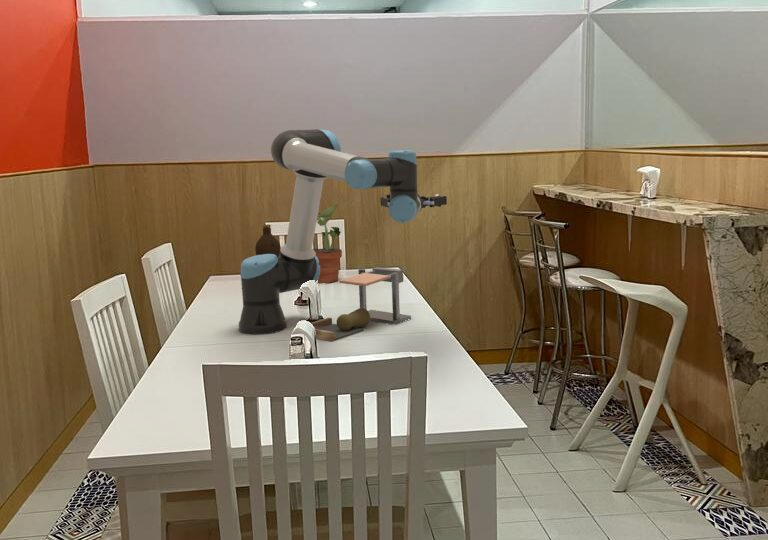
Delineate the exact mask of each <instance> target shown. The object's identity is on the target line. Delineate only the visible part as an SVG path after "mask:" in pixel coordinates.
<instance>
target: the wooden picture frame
mask: <svg viewBox="0 0 768 540" xmlns="http://www.w3.org/2000/svg"><path fill="white" fill-rule="evenodd" d="M311 323H312V324H313V325H314V327H315V331H316V338H318V339H317V340H322V341H327V342H336V341H337V340H336V337H335V332H331V331H325V330H320V329H318V328H321V327H324V326H327V325H331V324H333V318H332V317H330V316H329V317H326V318H322V319H319V320H316V321H313V322H311ZM316 338H315V339H316Z"/></svg>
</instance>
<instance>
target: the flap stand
mask: <svg viewBox="0 0 768 540" xmlns="http://www.w3.org/2000/svg"><path fill="white" fill-rule="evenodd" d="M357 272H358V275H359V274H362V273H366V268H360V269H358V271H357ZM358 291H359V292H358V293H359V308H365V309H366V310H367V311H368V312H369V314H370V322H374V323H380V322H381V323H382V324H386V323H388V324H387V325H392V324H396V325H398V324H397V323H399V324H401V323H404V322H406V321H405V320H407V321H409V320H408V319H410V320H412V315H409V314H401V313H400V283H399V274H398V273H397V272H393V273H392V282H391V297H392V298H391V300H392V302H391V304H392V312H390V311H383V310H381V311H380V310H376V309H369V310H368V309H367V286H360V285H358ZM403 321H404V322H403ZM400 322H401V323H400Z"/></svg>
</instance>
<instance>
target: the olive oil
mask: <svg viewBox="0 0 768 540" xmlns="http://www.w3.org/2000/svg"><path fill="white" fill-rule="evenodd" d="M281 247H282V246H281V243H280V241H279V240H278V239H277V238H276V237H275V235H273V234H272V228H271V224H262V235H261V236H260V237H259V239H258V240H257V242H256V243H255V249H254V250H255V256H256V255H263V254H274V255H276V256H277V257H279V255H280V249H281Z"/></svg>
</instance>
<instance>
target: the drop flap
mask: <svg viewBox="0 0 768 540" xmlns="http://www.w3.org/2000/svg"><path fill="white" fill-rule="evenodd" d="M393 272H397V273H398V274H399V284H401V283H403V282H404V269H401V268H400V269H399V268H390V267H388V268H387V267H377V266H376V267H373V268H372V270H371V271H367V272H365V273H362V274H359V273H358V274H356V275H352V276H349V277H346V278H342V279H340V280H339V279H338V280H339V284H345V285H351V286H352V285H354V286H359V285H360V286H366V287H368V286H371V285H373V284H377V283H379V282H384V283H385V282H387V283H392V273H393Z"/></svg>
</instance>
